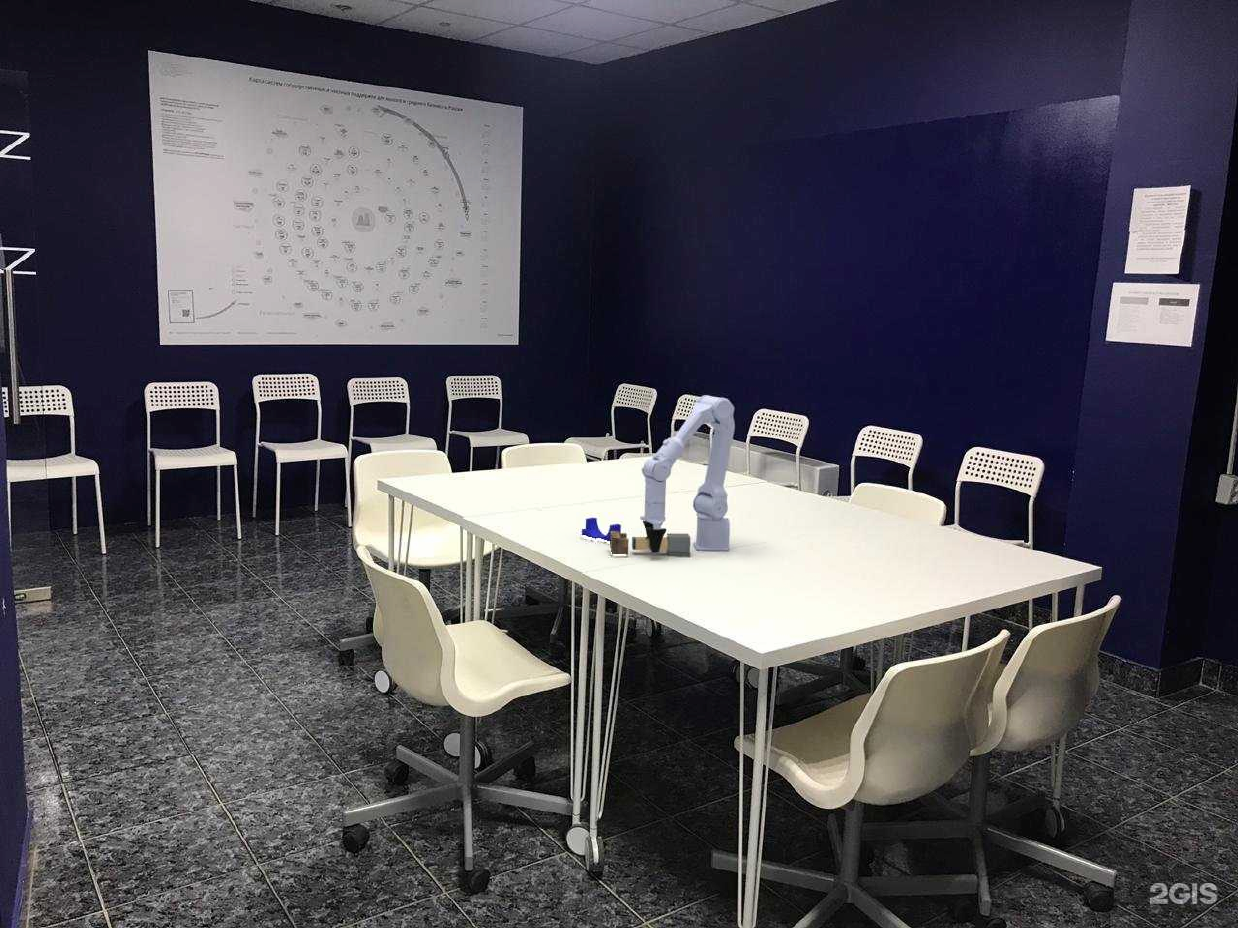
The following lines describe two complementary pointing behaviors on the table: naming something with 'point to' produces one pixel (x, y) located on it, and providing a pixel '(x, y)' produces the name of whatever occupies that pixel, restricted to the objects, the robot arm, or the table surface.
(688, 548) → the sleeve
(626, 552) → the socket block
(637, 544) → the tube
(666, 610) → the table surface
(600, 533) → the cable clip
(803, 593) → the table surface
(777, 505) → the table surface
